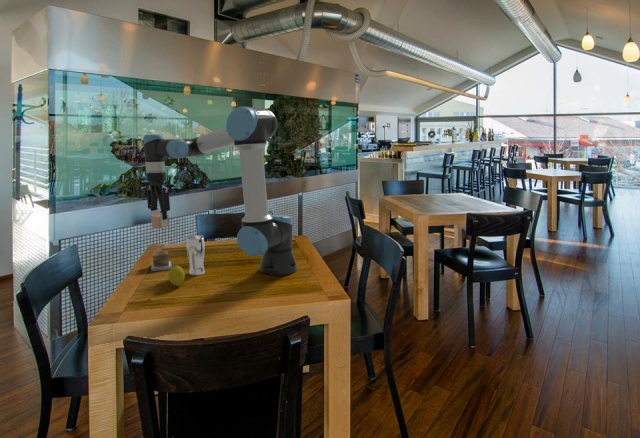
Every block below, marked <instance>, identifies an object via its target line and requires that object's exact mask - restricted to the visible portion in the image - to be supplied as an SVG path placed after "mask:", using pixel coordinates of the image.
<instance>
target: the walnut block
mask: <svg viewBox="0 0 640 438" xmlns="http://www.w3.org/2000/svg"><path fill="white" fill-rule="evenodd" d="M169 259H170V258H169V250H161V251H153V252H152V263H153V265H154V267H162V266H169V261H170V260H169Z"/></svg>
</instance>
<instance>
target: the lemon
mask: <svg viewBox="0 0 640 438" xmlns="http://www.w3.org/2000/svg"><path fill="white" fill-rule="evenodd" d="M185 277H186V275H185V270H184V269H183V268H182V266H179V265H174V266H172V268H171V269H169V271H168V279H169V282H170V283H171V284H172V285H174V286H175V287H178V286H179V285H181V284H182V283H184V281H185Z"/></svg>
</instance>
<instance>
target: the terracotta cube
mask: <svg viewBox="0 0 640 438" xmlns="http://www.w3.org/2000/svg"><path fill="white" fill-rule="evenodd" d="M150 219H151V227H152V228H153V229H158V230H160V229H164V228H166V227H163V228H161V222H160V213H159V215H153V216H152V215H151V216H150ZM169 222H170V220H169V215H168V214H167V226H168V227H167V228H169V227H170V223H169Z"/></svg>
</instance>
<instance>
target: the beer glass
mask: <svg viewBox="0 0 640 438" xmlns="http://www.w3.org/2000/svg"><path fill="white" fill-rule="evenodd" d="M205 249H206V248H205V237H204V235H200V234H199V235H198V234H195V235H194V234H193V235H188V236H186V253H187V258H188V262H189V271H188V274H189V275H190V276H200V275H204V274H205V273H206V272H205V271H206V270H205V265H204V262H205V261H204V259H205V251H206V250H205Z"/></svg>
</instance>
